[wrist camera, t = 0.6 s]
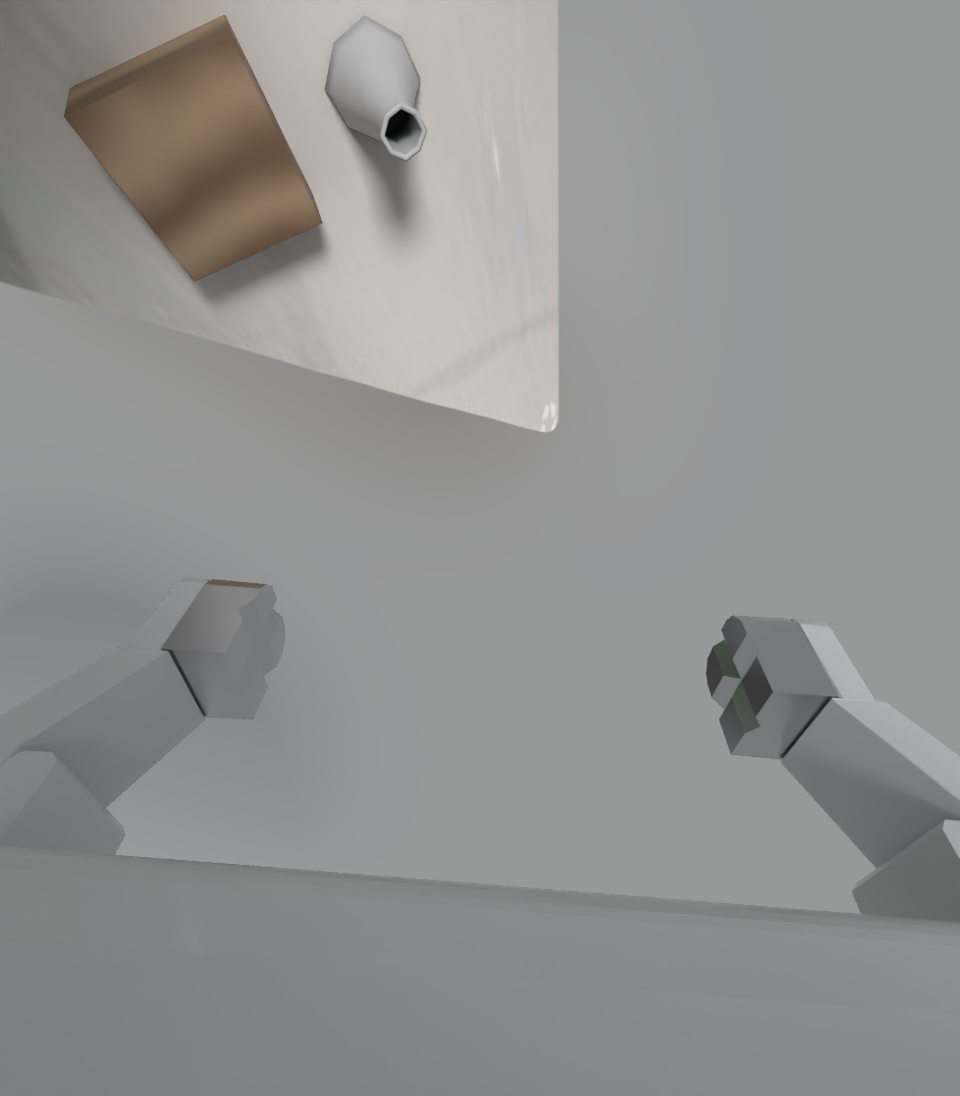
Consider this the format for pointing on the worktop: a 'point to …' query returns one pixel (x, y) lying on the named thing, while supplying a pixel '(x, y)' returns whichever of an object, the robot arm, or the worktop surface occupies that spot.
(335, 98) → the flask
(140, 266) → the worktop surface
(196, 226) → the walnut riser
